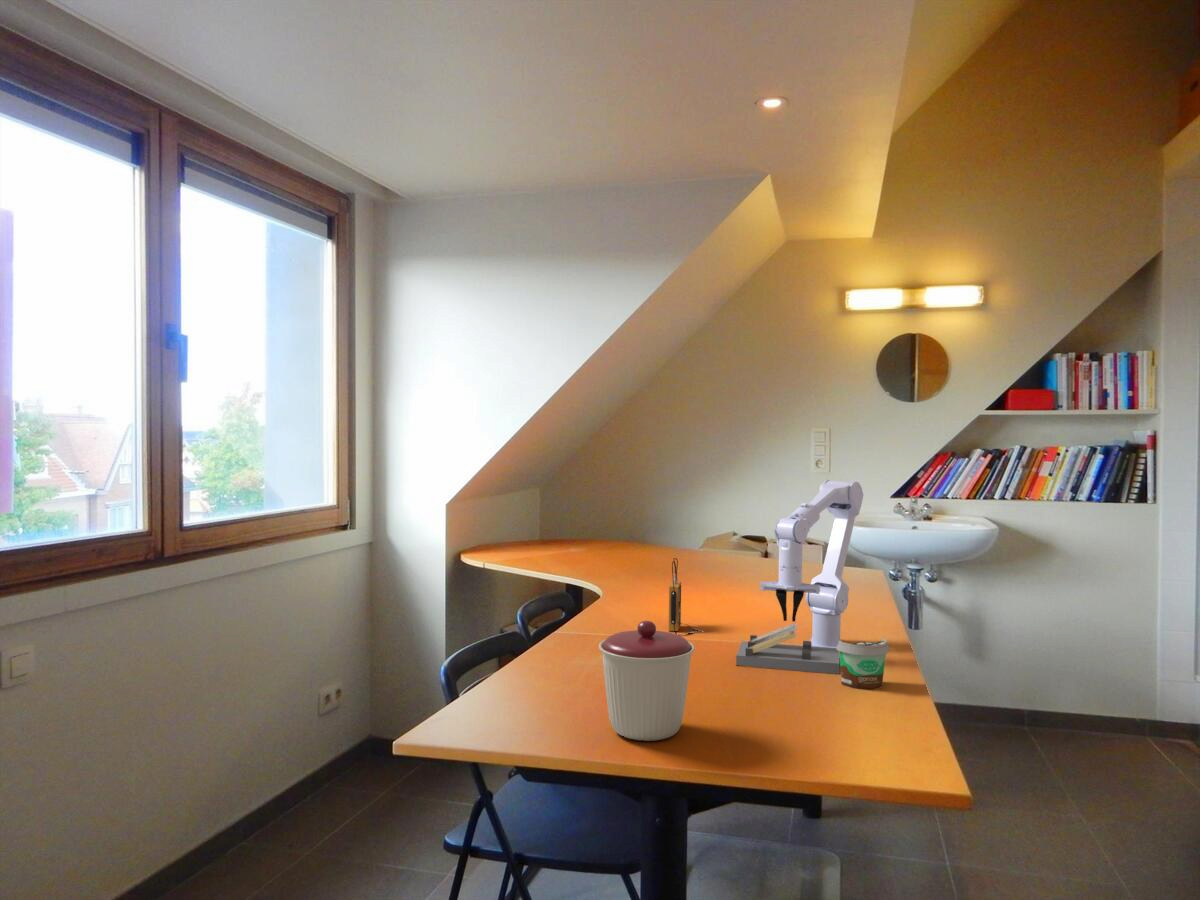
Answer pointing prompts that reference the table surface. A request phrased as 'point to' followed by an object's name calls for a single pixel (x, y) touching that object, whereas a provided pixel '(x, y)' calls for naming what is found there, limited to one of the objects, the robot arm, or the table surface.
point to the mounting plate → (790, 657)
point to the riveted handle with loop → (675, 603)
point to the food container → (862, 664)
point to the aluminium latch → (775, 633)
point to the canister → (646, 681)
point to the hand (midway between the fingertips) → (789, 620)
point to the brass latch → (773, 641)
